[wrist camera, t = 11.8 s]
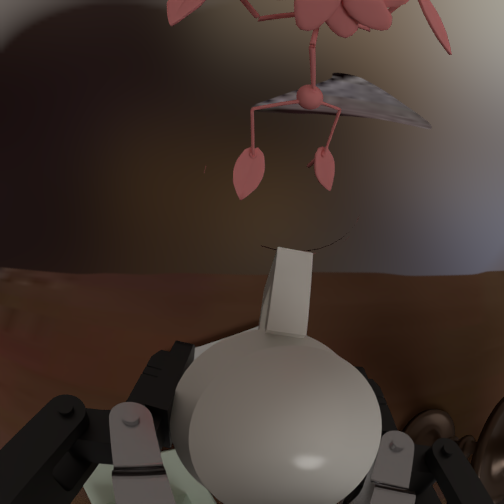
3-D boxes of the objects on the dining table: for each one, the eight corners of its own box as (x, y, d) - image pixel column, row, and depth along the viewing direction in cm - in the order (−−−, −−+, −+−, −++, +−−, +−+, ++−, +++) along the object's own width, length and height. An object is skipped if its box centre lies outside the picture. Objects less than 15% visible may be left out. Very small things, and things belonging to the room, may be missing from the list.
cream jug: (296, 459, 12) (390, 537, 3) (189, 446, 12) (127, 524, 3) (315, 320, 16) (412, 226, 7) (216, 305, 16) (200, 185, 7)
